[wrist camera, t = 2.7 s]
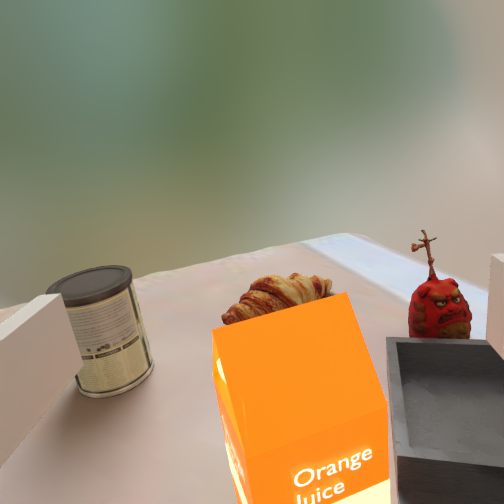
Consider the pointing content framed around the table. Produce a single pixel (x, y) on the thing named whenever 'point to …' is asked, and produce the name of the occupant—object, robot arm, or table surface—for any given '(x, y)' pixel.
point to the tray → (446, 420)
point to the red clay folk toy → (438, 306)
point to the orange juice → (302, 407)
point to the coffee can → (106, 329)
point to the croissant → (276, 296)
